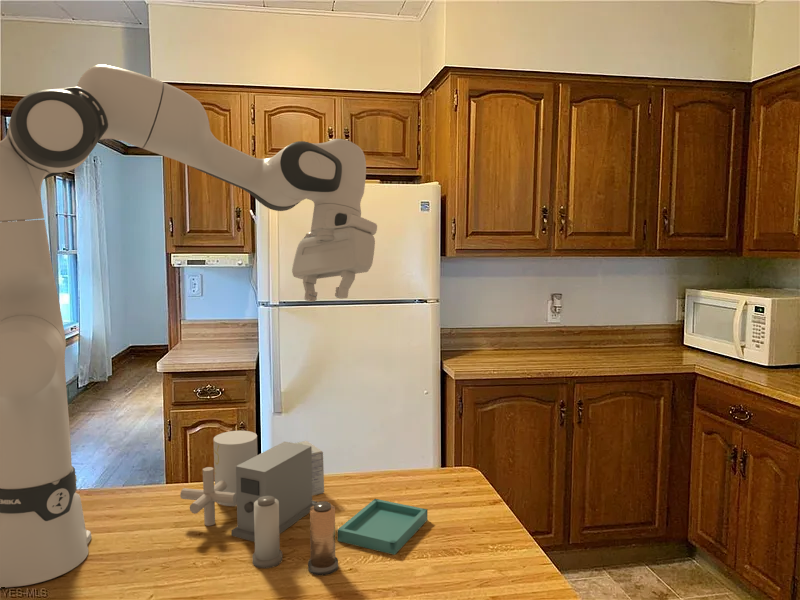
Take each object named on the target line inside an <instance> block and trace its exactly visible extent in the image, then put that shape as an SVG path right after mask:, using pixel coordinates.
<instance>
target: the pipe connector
mask: <svg viewBox="0 0 800 600" xmlns="http://www.w3.org/2000/svg"><path fill="white" fill-rule="evenodd" d="M202 485H203V487H202V489H199V488H187V487H184V488H182V489H181V490H180V494H179V495H180V499H182V500H191V501H193V502H192V503H191V504H190V505H189V511H190V512H191V513H192V514H198V513H200V512H201V510H203V516H204V517H203V518H204V522H203V523H204V525H205V526H207V527H210V526H215V524H216V507H215V505H216V504H215V503H217V502H221V503H231V504H235V503H236V501H237V493H231V492H223V491H224V490H225V489H226V488H227V484H226V482H225V481H219V482H218V483H217V484H216V485H215V473H214V466H213V467H212V466H206V467H203V468H202Z"/></svg>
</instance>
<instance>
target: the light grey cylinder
mask: <svg viewBox="0 0 800 600" xmlns="http://www.w3.org/2000/svg"><path fill="white" fill-rule="evenodd" d="M257 455H259V454H258V435H257V433H256V432H253V431H249V430H230V431H226V432H225V431H224V432H221V433H219V434H217V435H215V436H214V437H213V468H214V485H216V484H217V483H218V482H219V481H225V482H226V484H227V488H226V489H225V490H224V491H223V492H231V493H237V489H236V466H237V465H239V464H241V463H243V462H245V461H247V460H249V459H251V458H253V457H255V456H257ZM216 503H217V504H218V505H221V506H225V507H237V501H236V503H235V504H231V503H221V502H216Z"/></svg>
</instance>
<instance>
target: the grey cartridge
mask: <svg viewBox="0 0 800 600" xmlns="http://www.w3.org/2000/svg"><path fill="white" fill-rule="evenodd" d="M254 533H255V542H254V552H253V553H252V565H253V566H255V567H256V568H259V569H273V568H274V567H278V566H279V565H280V564H281V563H282V562H283V551H282V550H281V549H280V548H281V547H280V534H279V501H278V500H277V499H275V498H274V497H273V496H262V497H260V498H258V500H257V501H255V502H254Z"/></svg>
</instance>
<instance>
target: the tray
mask: <svg viewBox="0 0 800 600" xmlns="http://www.w3.org/2000/svg"><path fill="white" fill-rule="evenodd" d="M427 521H428V509H427V508H422V507H418V506H417V507H416V506H412V505H409V504H402V503H398V502H392V501H388V500H383V499H378V498H374V499H372V501H370V502H369V503H368V504H367V505H365V507H363V508H362V509H360V510H359V511H358V512H357V513H356V514H354V515H353V516H352V517H351V518H350V519H348V521H346V522H345V523H343V525H341V526H340V527H339V528H338V529H337V530H336V531H337V532H336V533H337V542H340V543H345V544H348V545H352V546H356V547H361V548H365V549H369V550H374V551H378V552H381V553H385V554H389V555H393V556H394V555H396V554H397V553H398V552H399V551H400V550H401V549H402V548H403V547H404V546H405V544H406V543H407V542H409V541H410V539H411V538H412V537H413V536H414V535H415V534H416V533H417V532H418V531H419V530H420V529H421V528H422V526H423V525H424V524H426V523H427Z"/></svg>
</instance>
